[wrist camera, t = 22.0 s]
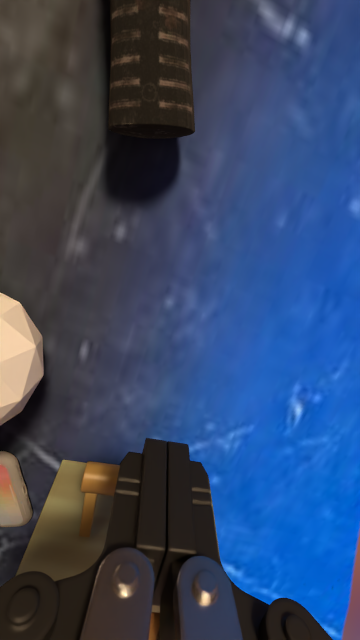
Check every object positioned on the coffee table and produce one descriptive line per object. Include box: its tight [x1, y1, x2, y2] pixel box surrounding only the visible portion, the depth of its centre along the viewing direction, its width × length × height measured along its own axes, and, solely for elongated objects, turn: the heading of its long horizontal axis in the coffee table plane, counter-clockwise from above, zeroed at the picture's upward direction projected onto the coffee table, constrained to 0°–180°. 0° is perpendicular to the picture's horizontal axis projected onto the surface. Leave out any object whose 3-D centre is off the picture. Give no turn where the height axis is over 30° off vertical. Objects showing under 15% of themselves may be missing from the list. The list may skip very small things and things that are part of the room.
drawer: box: [16, 460, 220, 640], centre depth 19 cm, size 15×10×7 cm
